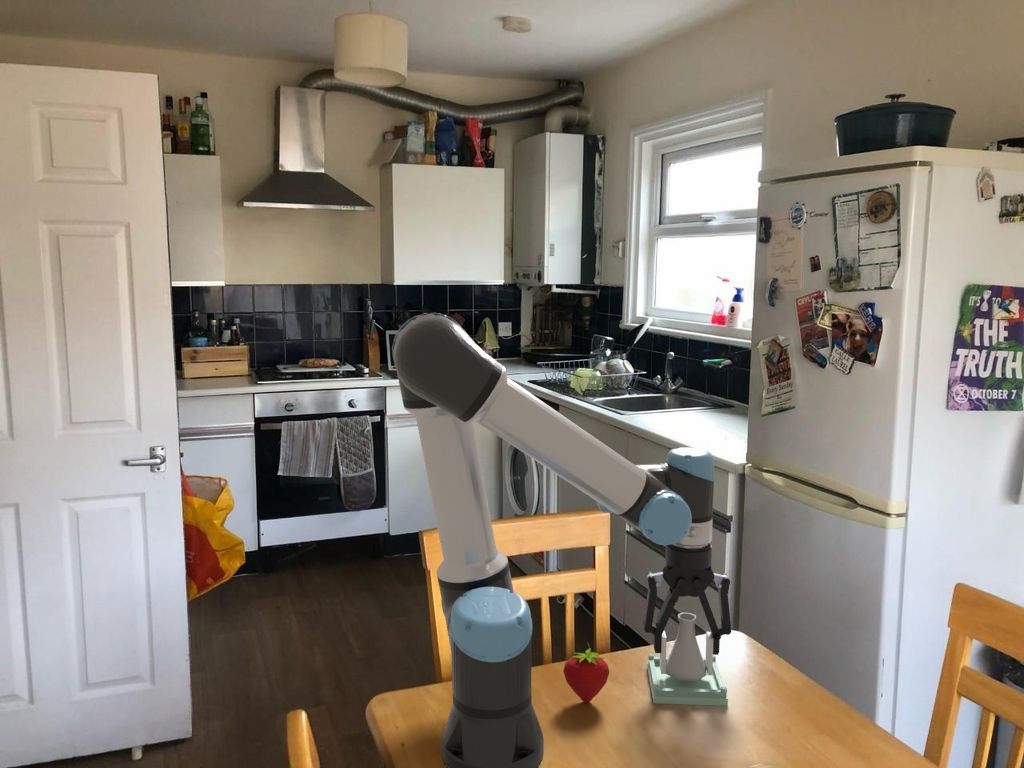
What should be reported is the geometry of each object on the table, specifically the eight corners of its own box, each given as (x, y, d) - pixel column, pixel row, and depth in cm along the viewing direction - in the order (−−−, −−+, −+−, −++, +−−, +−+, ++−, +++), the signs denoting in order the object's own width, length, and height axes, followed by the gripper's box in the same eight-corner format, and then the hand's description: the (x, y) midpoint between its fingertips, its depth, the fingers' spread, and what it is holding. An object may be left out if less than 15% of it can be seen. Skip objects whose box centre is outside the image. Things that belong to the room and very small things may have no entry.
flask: (658, 676, 139) (659, 620, 138) (671, 658, 146) (672, 604, 144) (701, 686, 136) (702, 629, 134) (712, 667, 142) (713, 612, 141)
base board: (653, 703, 136) (653, 688, 135) (647, 667, 148) (647, 653, 147) (727, 705, 135) (728, 690, 134) (715, 669, 147) (715, 655, 146)
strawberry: (562, 691, 140) (562, 636, 138) (607, 692, 139) (608, 636, 138) (563, 710, 134) (563, 652, 132) (610, 711, 133) (610, 653, 132)
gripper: (629, 548, 134) (627, 680, 138) (755, 550, 133) (749, 683, 136) (626, 532, 142) (625, 658, 145) (745, 534, 140) (740, 661, 144)
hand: (685, 670), depth 141 cm, fingers closed on flask, 7 cm apart
